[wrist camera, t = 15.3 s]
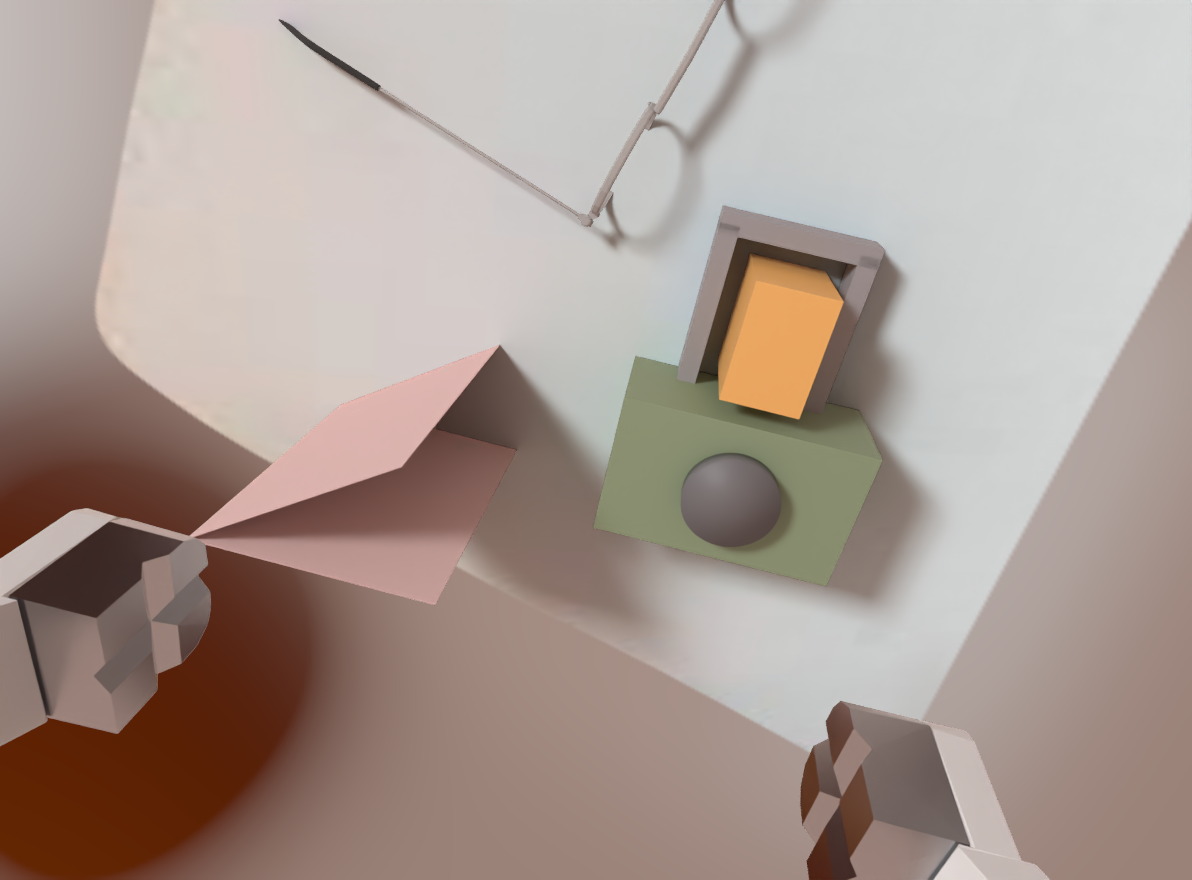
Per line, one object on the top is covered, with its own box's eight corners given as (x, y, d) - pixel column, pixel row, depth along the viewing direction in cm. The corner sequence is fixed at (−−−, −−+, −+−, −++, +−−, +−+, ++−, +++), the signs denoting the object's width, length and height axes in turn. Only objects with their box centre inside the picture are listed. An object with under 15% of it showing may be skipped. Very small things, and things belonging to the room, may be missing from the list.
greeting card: (340, 417, 45) (187, 554, 32) (345, 305, 42) (177, 408, 29) (514, 462, 45) (432, 619, 32) (534, 353, 42) (452, 479, 28)
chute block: (750, 252, 38) (756, 280, 32) (825, 271, 37) (843, 301, 32) (718, 357, 40) (719, 399, 35) (787, 375, 40) (799, 419, 35)
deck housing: (675, 194, 37) (668, 216, 31) (925, 253, 36) (970, 288, 30) (606, 474, 45) (590, 537, 38) (811, 526, 44) (829, 598, 38)
